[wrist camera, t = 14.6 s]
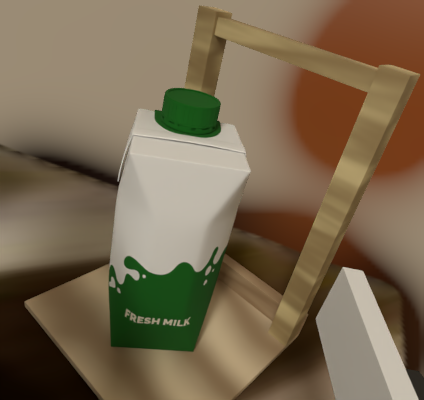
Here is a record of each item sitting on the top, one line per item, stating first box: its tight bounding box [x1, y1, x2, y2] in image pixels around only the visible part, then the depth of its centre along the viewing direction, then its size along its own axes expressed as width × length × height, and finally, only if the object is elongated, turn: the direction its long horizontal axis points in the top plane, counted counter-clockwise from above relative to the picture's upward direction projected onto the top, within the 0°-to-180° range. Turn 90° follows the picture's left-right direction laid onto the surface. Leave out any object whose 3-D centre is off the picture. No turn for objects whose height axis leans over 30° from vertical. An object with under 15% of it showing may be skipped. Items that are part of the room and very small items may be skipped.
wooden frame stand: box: [25, 6, 420, 400], centre depth 30 cm, size 18×18×26 cm
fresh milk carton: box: [109, 88, 251, 352], centre depth 31 cm, size 9×9×20 cm
